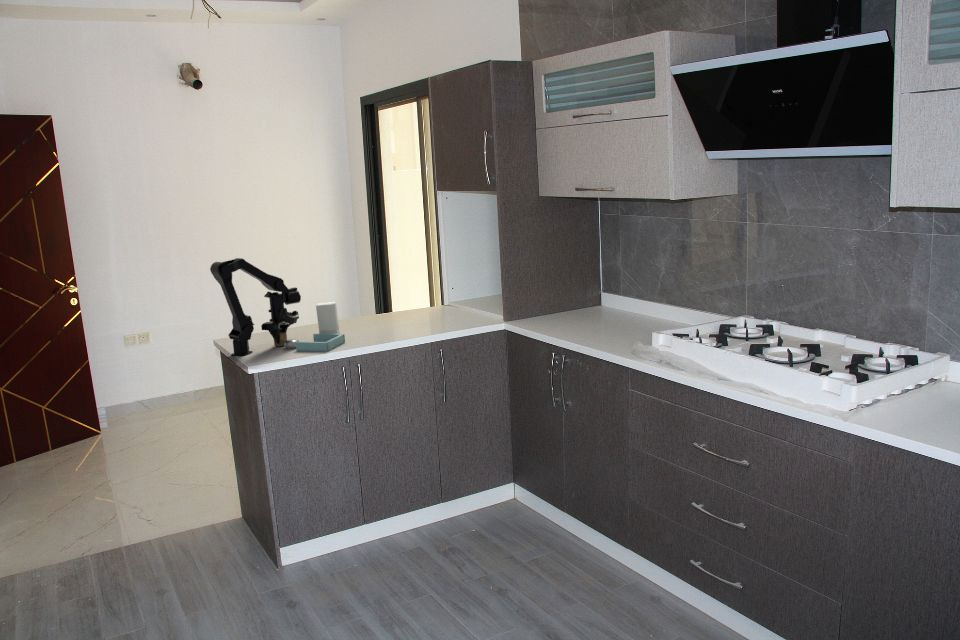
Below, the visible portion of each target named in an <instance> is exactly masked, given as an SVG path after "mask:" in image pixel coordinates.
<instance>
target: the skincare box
mask: <svg viewBox="0 0 960 640" xmlns="http://www.w3.org/2000/svg"><path fill="white" fill-rule="evenodd" d="M337 307H338V306H337V301H329V302H328V301H327V302H318V303H317V304H316V306H315V308H316V309H315V310H316V316H317V317H316V318H317V324H318V332H319V333H318V334H341V333H340V325H339V324H340V323H339V318H338V317H339V316H338V309H337Z"/></svg>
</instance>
